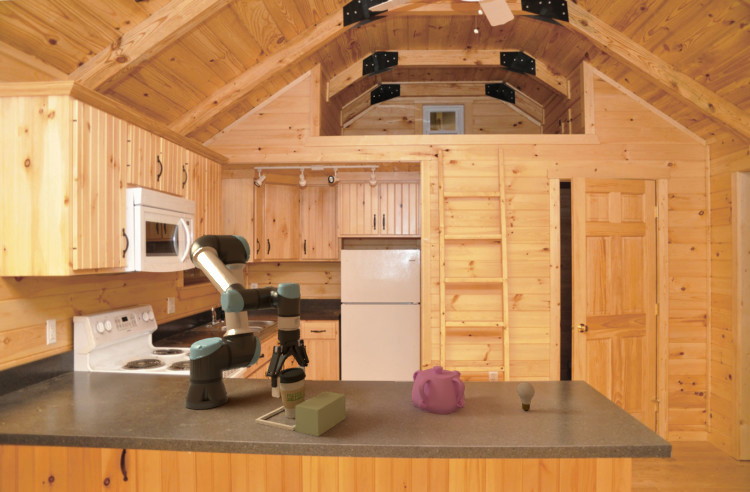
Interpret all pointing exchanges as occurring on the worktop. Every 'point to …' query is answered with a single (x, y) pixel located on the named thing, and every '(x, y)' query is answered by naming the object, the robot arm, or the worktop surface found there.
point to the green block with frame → (313, 414)
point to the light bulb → (525, 394)
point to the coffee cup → (292, 389)
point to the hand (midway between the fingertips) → (288, 390)
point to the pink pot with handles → (438, 390)
